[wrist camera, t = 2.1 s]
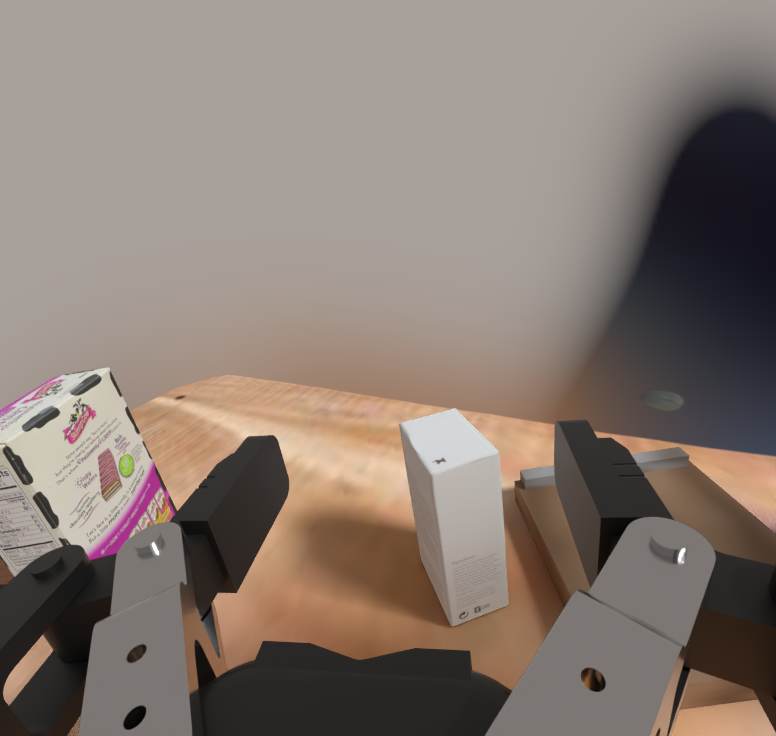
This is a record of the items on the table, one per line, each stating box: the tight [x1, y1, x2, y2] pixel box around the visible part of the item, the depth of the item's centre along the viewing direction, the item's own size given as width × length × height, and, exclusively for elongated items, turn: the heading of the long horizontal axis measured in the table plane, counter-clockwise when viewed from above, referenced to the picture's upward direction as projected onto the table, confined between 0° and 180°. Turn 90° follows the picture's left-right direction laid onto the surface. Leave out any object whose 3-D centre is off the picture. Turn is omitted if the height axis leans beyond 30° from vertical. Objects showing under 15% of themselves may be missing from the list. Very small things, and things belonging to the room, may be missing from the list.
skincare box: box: [399, 408, 509, 626], centre depth 27 cm, size 6×4×12 cm
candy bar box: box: [0, 368, 177, 577], centre depth 32 cm, size 11×5×16 cm, turn 5°
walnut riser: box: [515, 447, 776, 709], centre depth 27 cm, size 14×16×3 cm
